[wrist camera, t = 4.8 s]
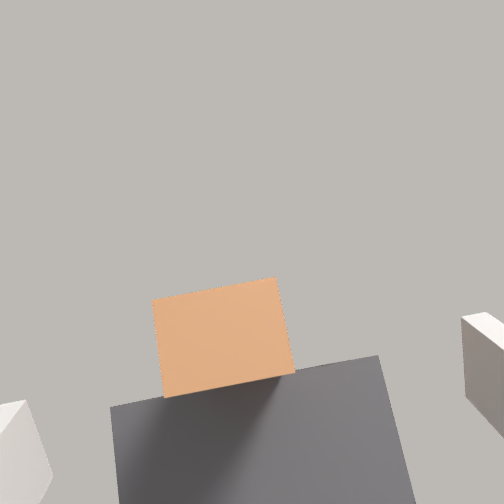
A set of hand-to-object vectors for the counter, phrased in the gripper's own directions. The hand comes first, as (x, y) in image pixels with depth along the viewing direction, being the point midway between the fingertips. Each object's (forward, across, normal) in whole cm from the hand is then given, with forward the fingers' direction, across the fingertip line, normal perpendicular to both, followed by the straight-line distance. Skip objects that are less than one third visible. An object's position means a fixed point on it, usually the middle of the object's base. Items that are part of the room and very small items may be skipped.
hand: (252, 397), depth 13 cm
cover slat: (+12, -1, -7) cm, 14 cm away
